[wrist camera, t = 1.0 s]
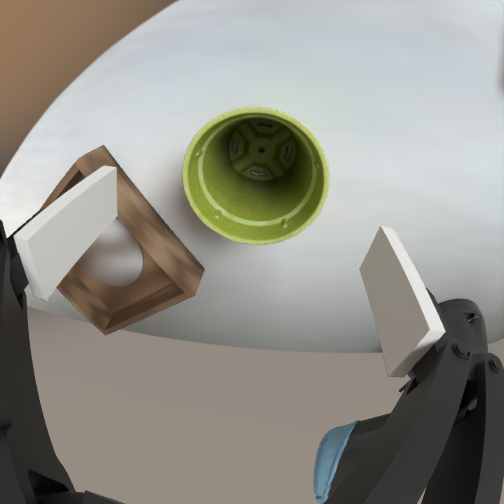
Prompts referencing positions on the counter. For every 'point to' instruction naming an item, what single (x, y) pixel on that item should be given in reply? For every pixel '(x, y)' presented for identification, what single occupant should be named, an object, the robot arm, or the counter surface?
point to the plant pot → (252, 186)
